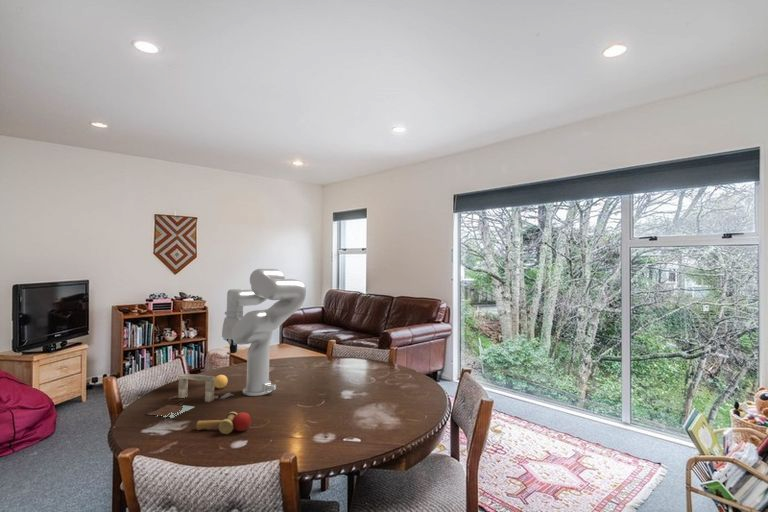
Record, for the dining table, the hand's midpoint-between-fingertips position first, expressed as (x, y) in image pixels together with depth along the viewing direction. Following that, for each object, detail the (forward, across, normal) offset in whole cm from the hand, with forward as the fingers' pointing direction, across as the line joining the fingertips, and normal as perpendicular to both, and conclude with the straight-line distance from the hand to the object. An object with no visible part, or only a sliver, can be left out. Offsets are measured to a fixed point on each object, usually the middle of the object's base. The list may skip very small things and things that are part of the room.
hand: (233, 352), depth 190 cm
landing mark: (+14, +1, -40) cm, 42 cm away
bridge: (+14, +1, -26) cm, 29 cm away
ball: (+11, +1, -10) cm, 15 cm away
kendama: (+14, +31, -50) cm, 60 cm away
